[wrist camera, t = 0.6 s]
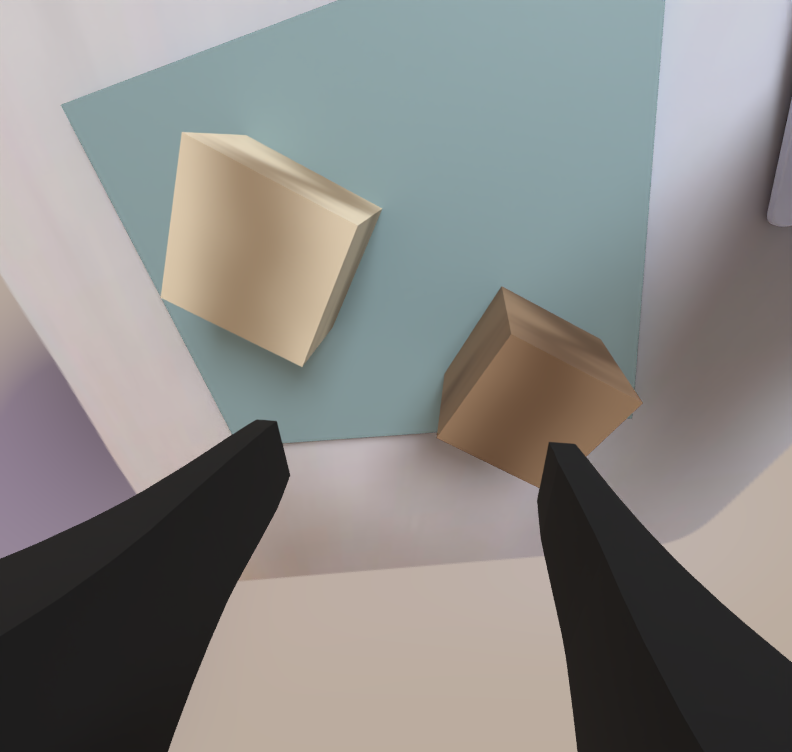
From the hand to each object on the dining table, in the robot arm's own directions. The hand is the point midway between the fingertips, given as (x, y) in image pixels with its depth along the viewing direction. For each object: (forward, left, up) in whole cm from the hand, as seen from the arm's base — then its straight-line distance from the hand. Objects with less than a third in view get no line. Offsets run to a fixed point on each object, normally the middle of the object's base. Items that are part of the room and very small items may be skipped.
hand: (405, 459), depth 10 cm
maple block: (+5, -5, -9) cm, 12 cm away
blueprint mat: (+2, -3, -9) cm, 10 cm away
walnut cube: (-4, +2, -9) cm, 10 cm away
